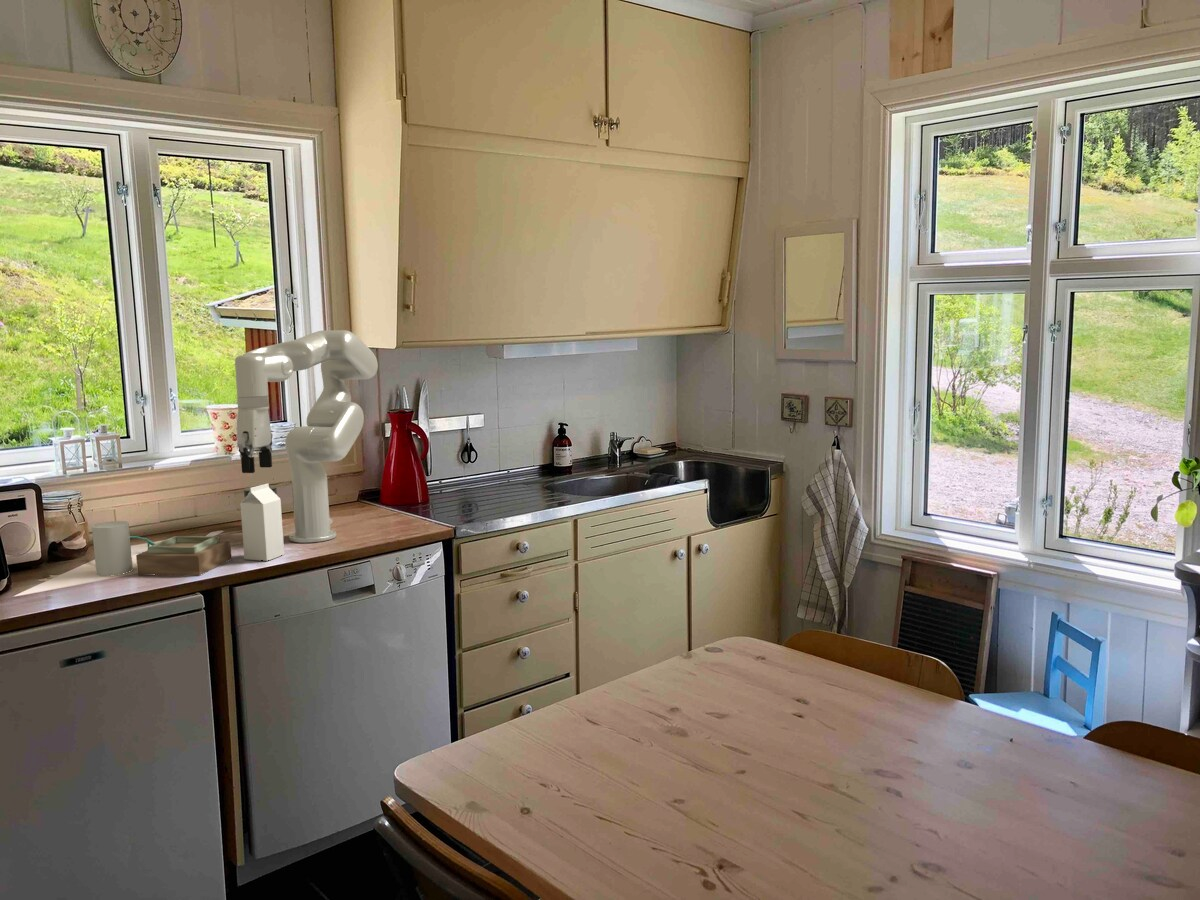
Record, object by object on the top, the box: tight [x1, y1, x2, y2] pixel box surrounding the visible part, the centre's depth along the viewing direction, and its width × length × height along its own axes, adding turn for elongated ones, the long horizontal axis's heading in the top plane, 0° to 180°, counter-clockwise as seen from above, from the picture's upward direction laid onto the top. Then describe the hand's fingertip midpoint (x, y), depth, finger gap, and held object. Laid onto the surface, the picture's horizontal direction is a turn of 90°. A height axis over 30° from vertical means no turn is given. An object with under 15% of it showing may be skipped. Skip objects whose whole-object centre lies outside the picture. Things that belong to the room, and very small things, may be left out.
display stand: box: [135, 535, 233, 576], centre depth 245 cm, size 16×16×6 cm
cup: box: [91, 520, 134, 577], centre depth 242 cm, size 8×8×12 cm
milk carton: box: [239, 482, 285, 562], centre depth 253 cm, size 7×7×19 cm
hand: (257, 470), depth 250 cm, fingers open, 9 cm apart
